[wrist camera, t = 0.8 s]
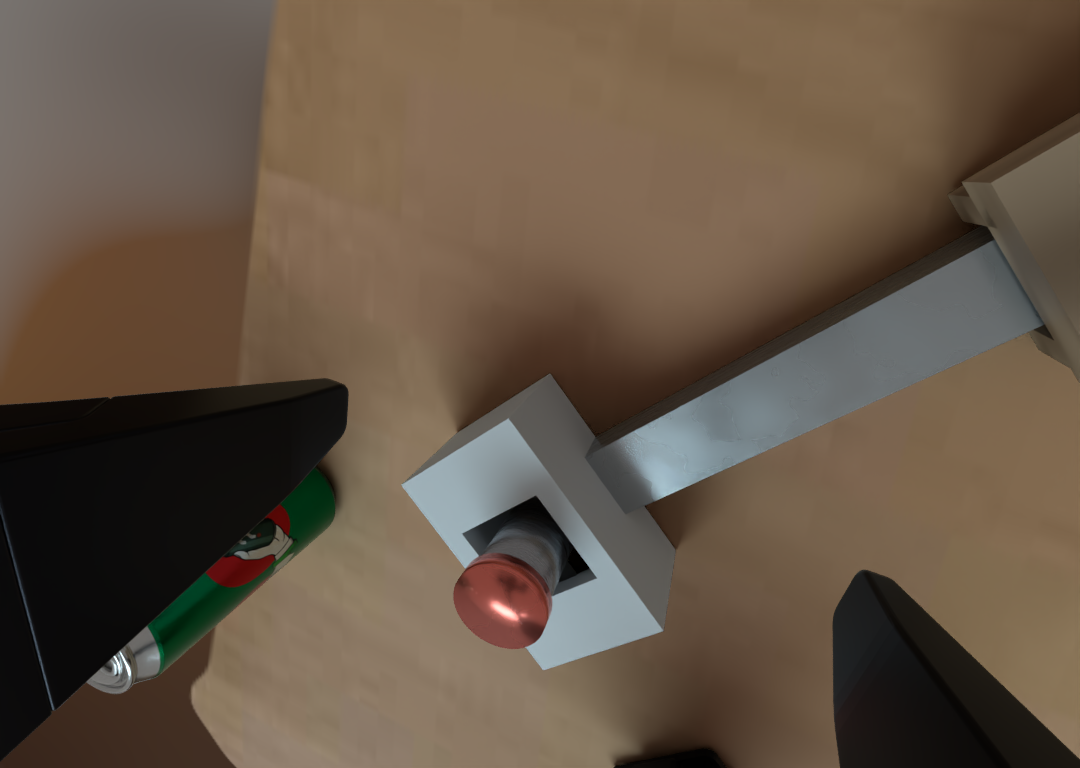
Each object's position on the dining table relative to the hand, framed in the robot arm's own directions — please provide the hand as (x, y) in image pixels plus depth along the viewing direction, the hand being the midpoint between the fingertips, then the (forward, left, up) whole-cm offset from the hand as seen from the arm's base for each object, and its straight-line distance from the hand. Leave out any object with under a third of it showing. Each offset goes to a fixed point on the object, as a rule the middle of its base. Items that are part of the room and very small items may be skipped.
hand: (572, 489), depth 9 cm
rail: (-5, -5, -14) cm, 16 cm away
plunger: (-5, +9, -11) cm, 15 cm away
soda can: (+2, +23, -14) cm, 27 cm away
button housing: (-5, +9, -14) cm, 17 cm away
